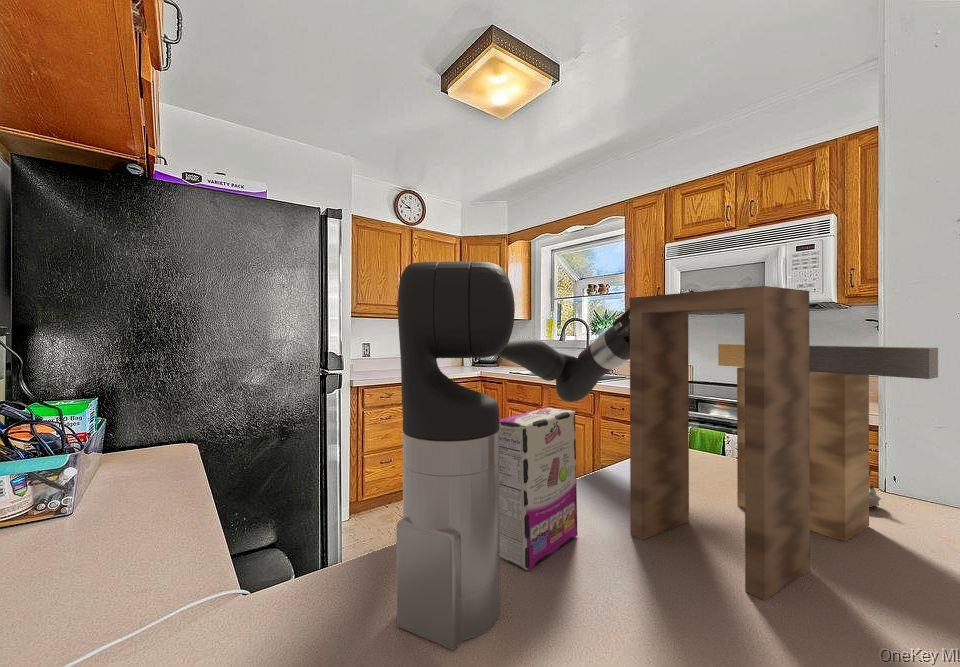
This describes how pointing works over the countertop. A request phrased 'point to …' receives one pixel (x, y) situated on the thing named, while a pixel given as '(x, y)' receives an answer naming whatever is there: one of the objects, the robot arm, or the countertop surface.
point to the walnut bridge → (768, 423)
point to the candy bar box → (537, 485)
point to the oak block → (829, 452)
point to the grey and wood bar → (855, 360)
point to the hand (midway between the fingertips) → (679, 299)
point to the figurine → (873, 495)
